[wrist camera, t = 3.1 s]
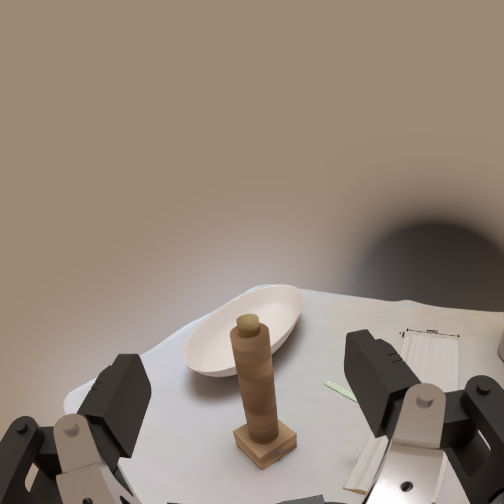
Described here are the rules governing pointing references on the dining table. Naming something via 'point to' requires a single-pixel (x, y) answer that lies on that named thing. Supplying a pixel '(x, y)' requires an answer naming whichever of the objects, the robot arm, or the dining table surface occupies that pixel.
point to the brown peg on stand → (258, 394)
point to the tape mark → (341, 390)
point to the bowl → (224, 320)
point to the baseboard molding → (428, 371)
